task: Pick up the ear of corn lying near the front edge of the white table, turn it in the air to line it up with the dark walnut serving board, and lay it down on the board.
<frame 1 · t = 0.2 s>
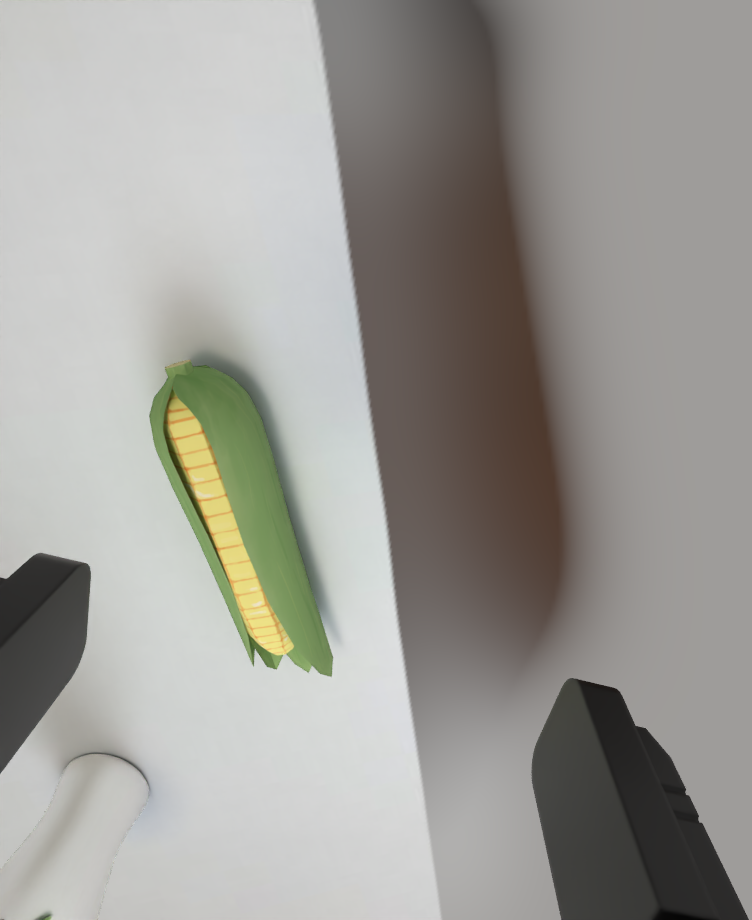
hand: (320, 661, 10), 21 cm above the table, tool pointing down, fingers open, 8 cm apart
beer glass: (108, 782, 42), on the table
edible corn: (260, 524, 34), on the table
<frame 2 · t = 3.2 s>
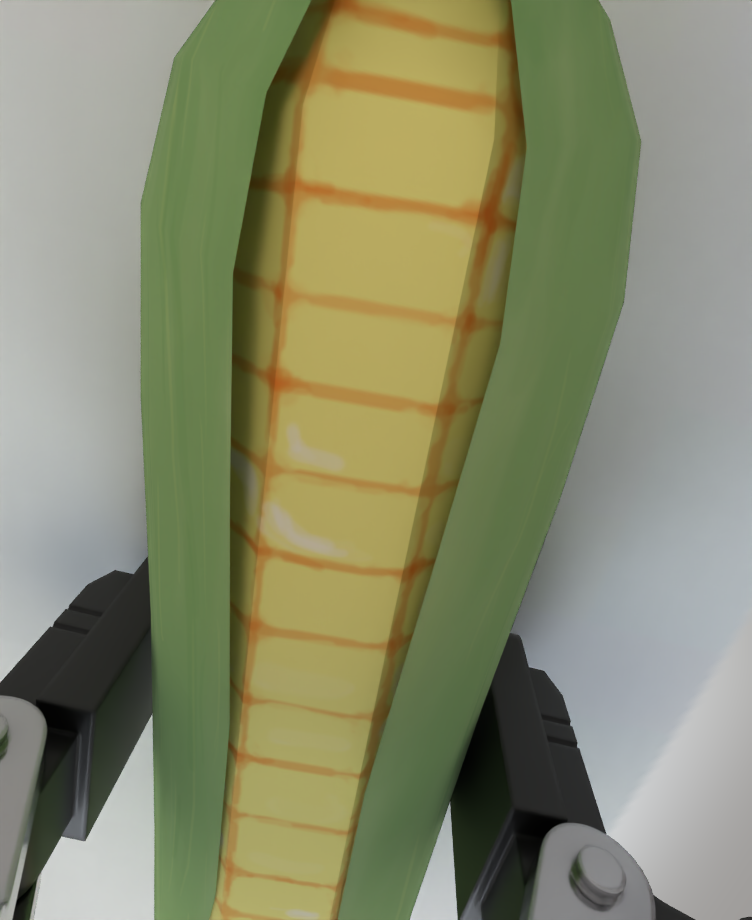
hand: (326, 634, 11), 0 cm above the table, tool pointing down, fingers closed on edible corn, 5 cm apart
edible corn: (334, 613, 11), on the table, touching gripper
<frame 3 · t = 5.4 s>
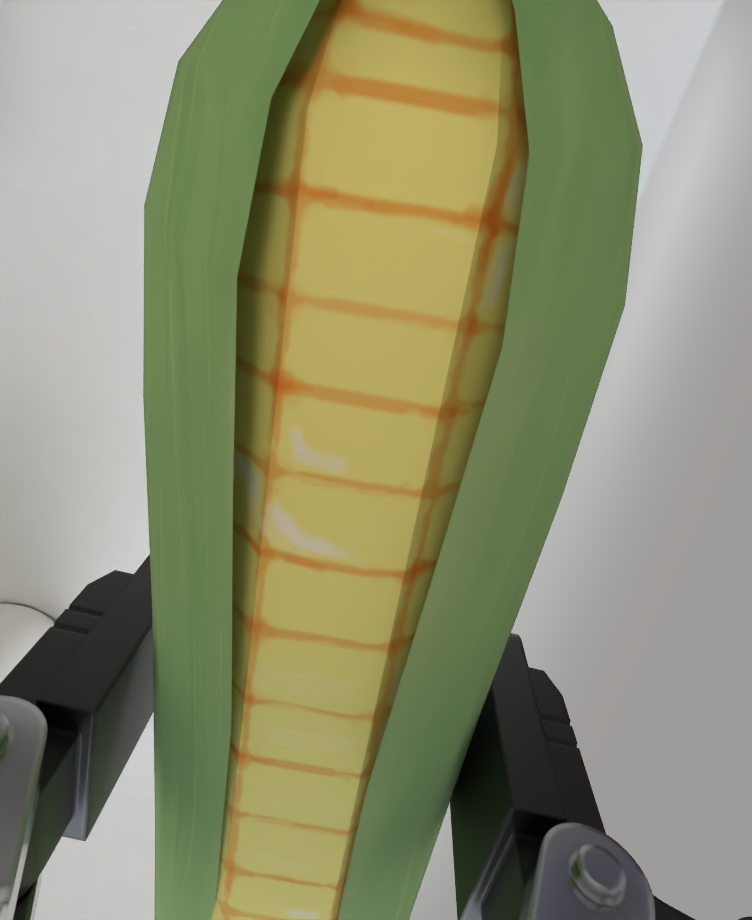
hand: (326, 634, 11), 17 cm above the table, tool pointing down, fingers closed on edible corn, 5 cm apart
beer glass: (23, 647, 33), on the table
edible corn: (334, 613, 11), point 16 cm above the table, touching gripper
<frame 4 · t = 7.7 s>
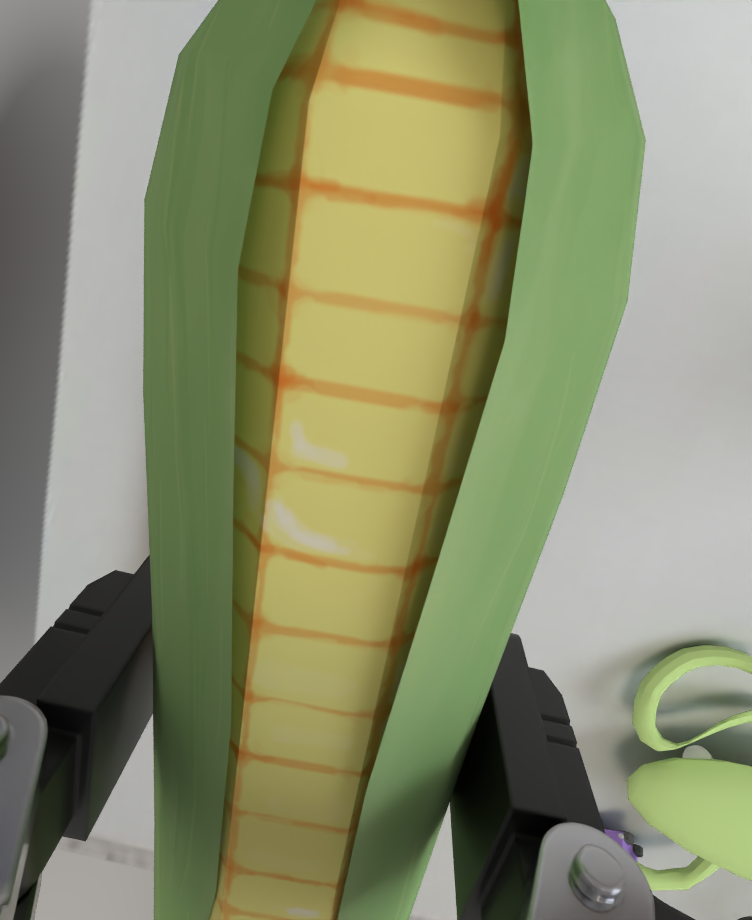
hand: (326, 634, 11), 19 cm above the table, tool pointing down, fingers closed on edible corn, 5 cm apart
edible corn: (335, 612, 11), point 19 cm above the table, touching gripper
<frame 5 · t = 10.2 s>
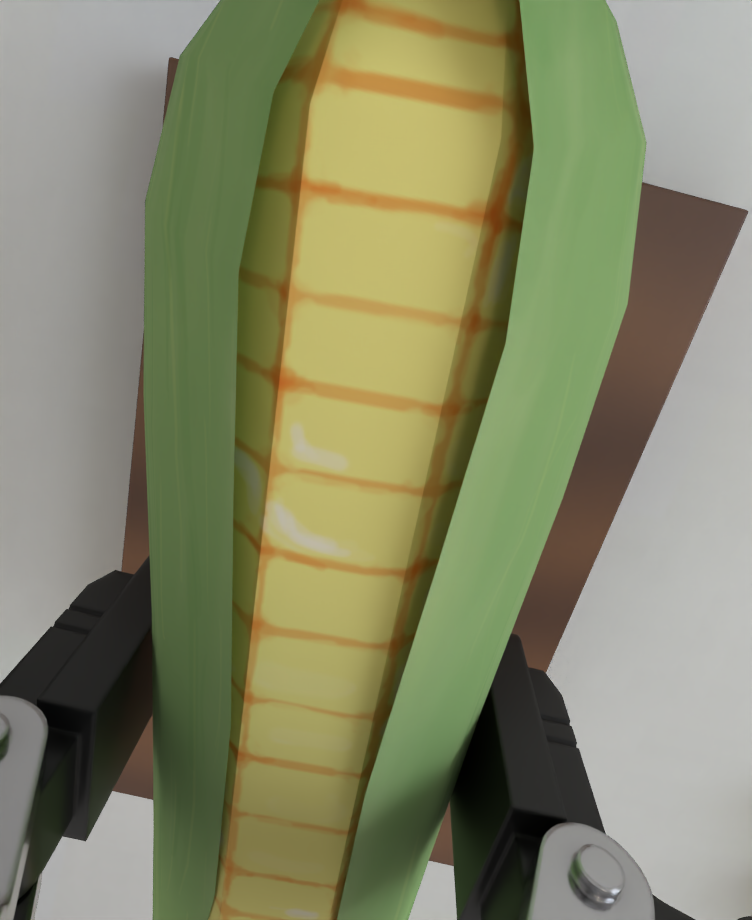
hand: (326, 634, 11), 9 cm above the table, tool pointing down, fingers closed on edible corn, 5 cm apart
edible corn: (334, 612, 11), point 8 cm above the table, touching gripper
serving board: (355, 541, 20), on the table
when the fingers open (2 cm above the table, at t = 12.2 s): edible corn stays where it is, resting on serving board.
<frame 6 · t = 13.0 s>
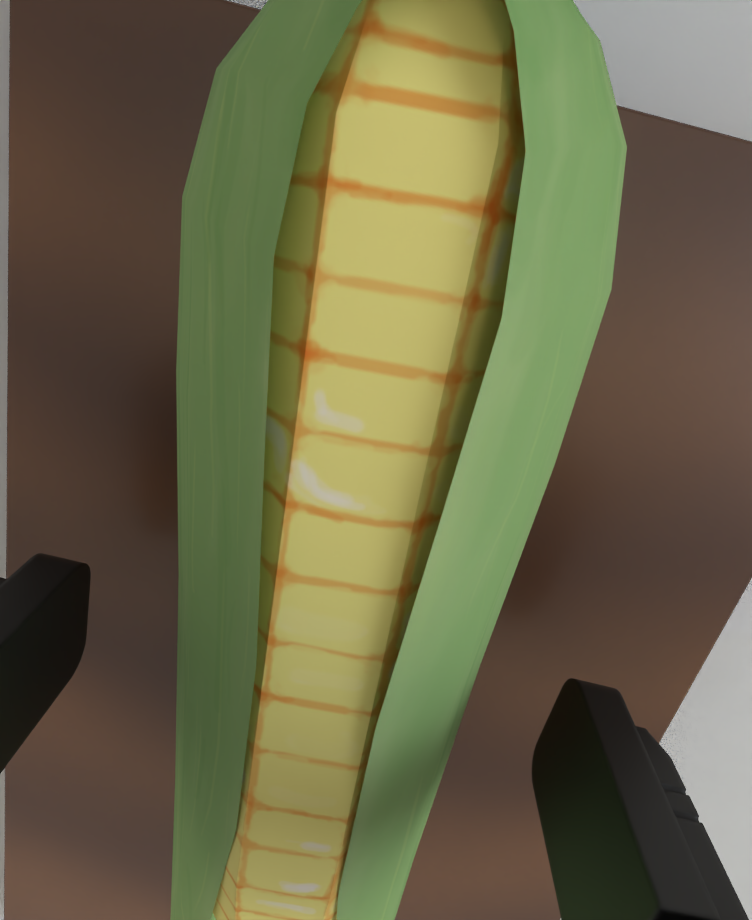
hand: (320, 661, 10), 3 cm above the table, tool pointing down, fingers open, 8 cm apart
edible corn: (342, 585, 12), point 1 cm above the table, touching serving board
serving board: (336, 661, 14), on the table
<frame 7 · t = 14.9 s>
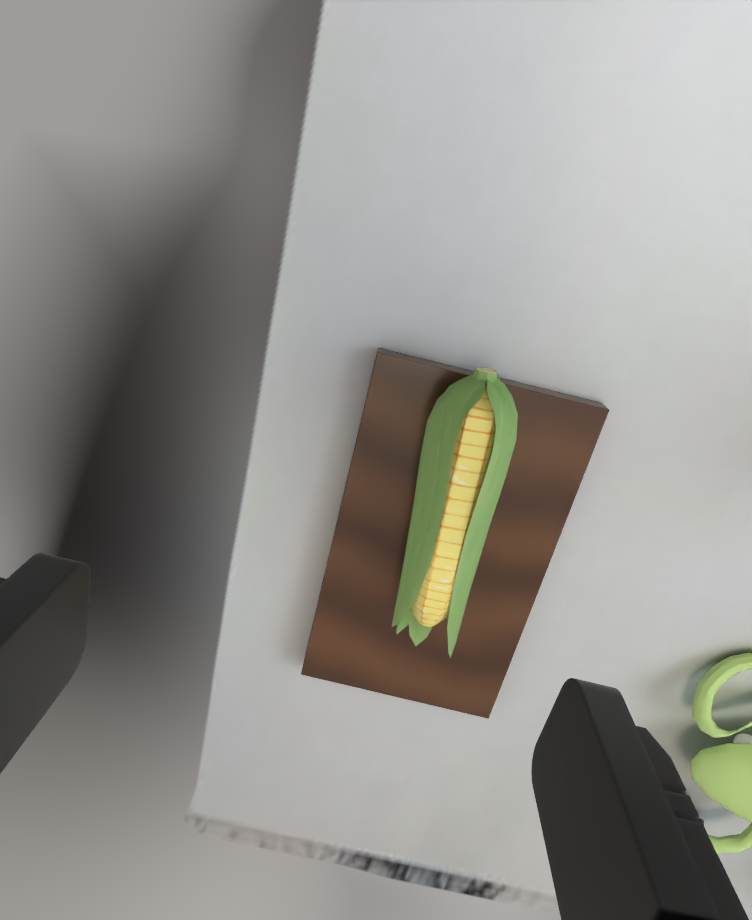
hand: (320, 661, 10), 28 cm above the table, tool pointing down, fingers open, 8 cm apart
edible corn: (446, 513, 38), point 1 cm above the table, touching serving board
serving board: (438, 544, 41), on the table
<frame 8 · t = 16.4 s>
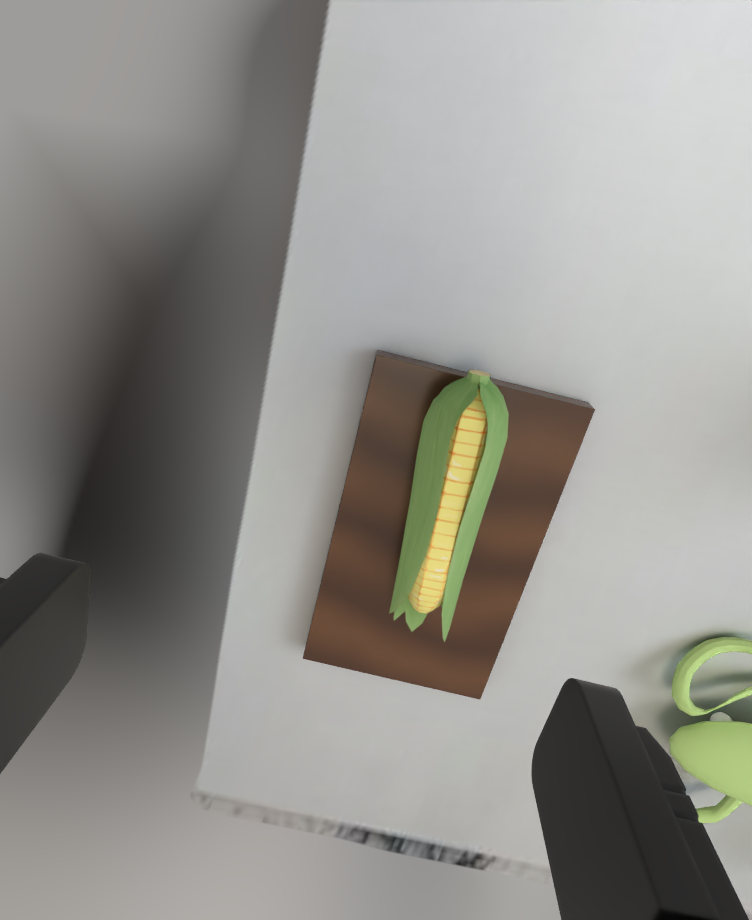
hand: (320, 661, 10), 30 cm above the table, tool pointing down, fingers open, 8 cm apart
edible corn: (440, 506, 41), point 1 cm above the table, touching serving board
serving board: (433, 536, 43), on the table
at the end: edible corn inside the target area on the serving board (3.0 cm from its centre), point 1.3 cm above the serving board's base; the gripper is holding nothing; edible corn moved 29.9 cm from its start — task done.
